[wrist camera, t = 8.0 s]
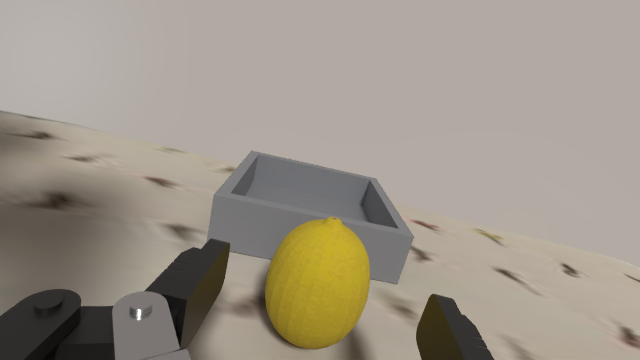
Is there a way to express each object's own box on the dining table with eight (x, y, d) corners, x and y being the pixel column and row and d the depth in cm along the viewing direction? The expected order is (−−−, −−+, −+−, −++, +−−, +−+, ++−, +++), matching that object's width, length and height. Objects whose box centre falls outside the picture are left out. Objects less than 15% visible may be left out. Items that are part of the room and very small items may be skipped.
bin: (206, 246, 26) (213, 194, 24) (245, 184, 41) (251, 150, 40) (397, 284, 27) (414, 236, 26) (366, 210, 42) (376, 178, 41)
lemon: (313, 300, 23) (342, 195, 20) (366, 363, 18) (410, 240, 16) (238, 320, 19) (263, 197, 17) (282, 402, 15) (322, 254, 13)
